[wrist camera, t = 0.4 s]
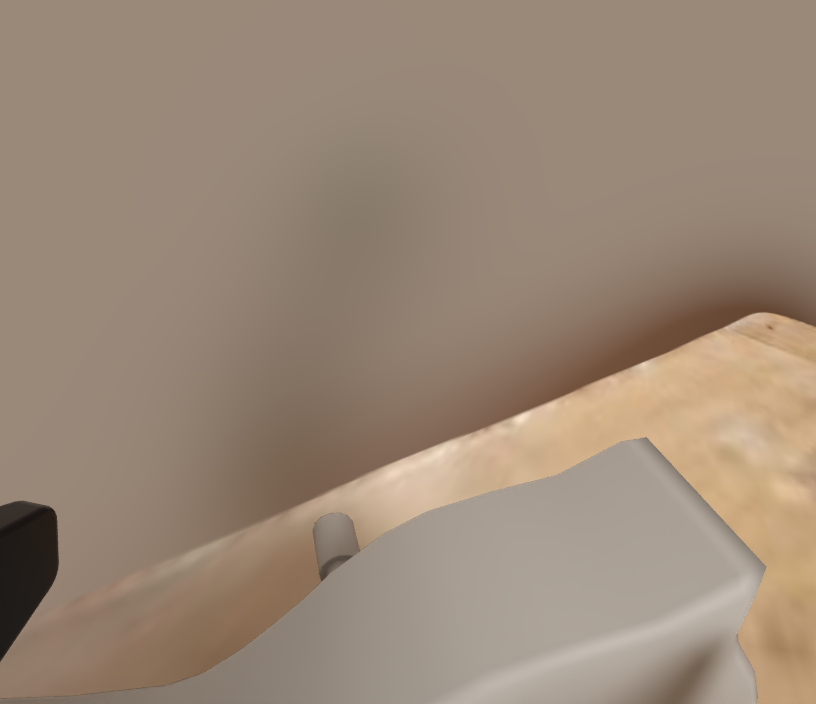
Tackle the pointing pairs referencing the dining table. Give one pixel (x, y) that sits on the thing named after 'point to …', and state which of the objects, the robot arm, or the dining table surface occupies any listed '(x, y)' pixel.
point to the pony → (510, 604)
